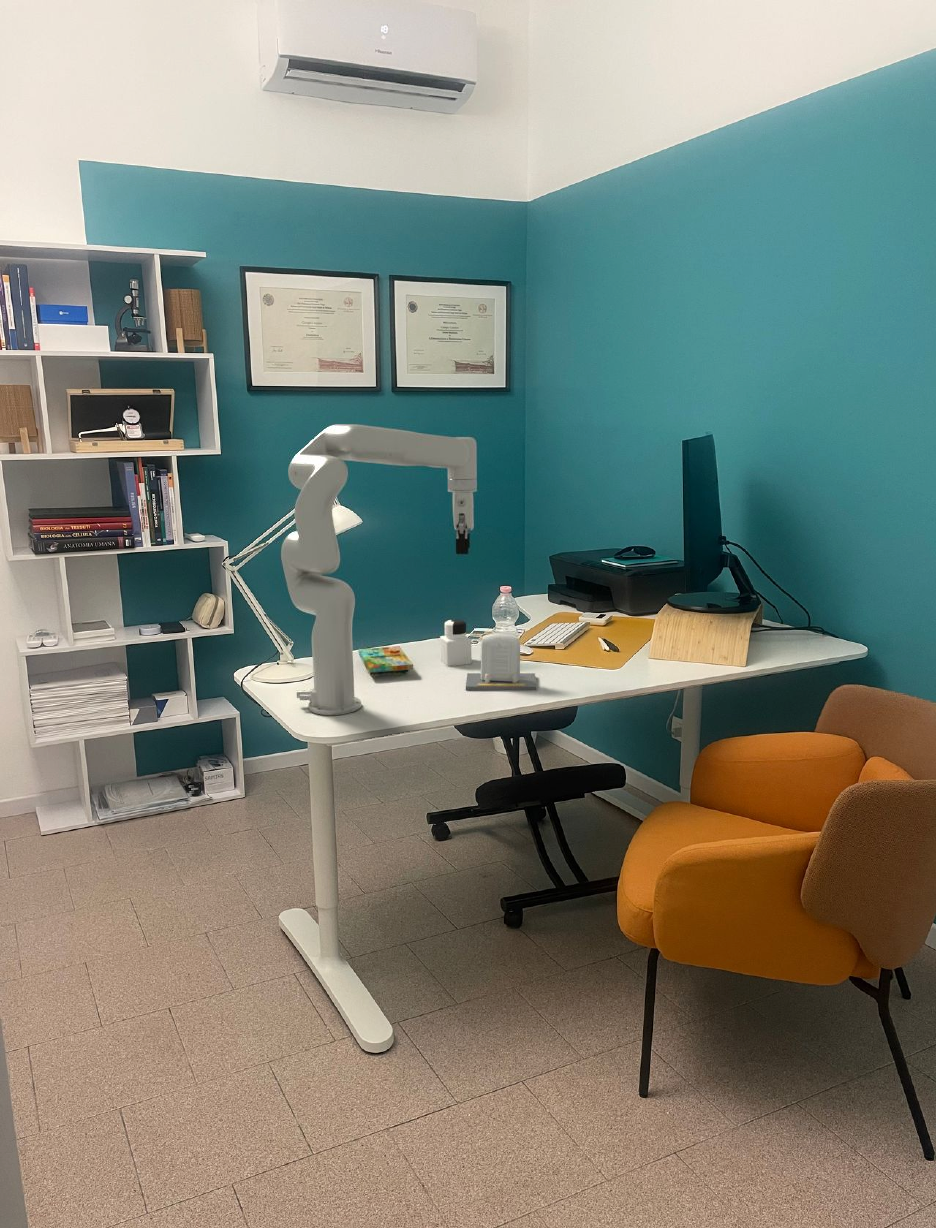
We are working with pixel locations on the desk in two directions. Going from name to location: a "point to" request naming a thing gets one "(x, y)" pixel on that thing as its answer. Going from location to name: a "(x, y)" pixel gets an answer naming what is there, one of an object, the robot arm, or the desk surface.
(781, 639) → the desk surface
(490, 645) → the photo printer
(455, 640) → the medicine bottle
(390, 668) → the puzzle game
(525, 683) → the pin tray
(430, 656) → the desk surface
